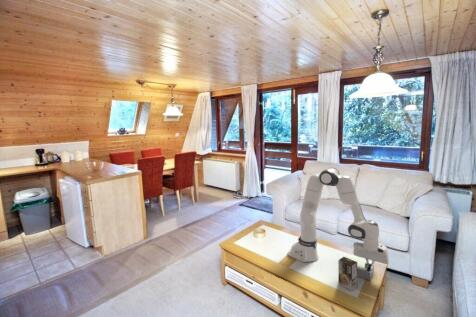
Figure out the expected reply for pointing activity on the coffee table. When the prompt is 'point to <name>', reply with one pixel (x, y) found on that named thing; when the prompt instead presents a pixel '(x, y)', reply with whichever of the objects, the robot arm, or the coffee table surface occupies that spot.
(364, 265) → the lid
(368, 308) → the coffee table surface
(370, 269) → the bin
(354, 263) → the coffee box
